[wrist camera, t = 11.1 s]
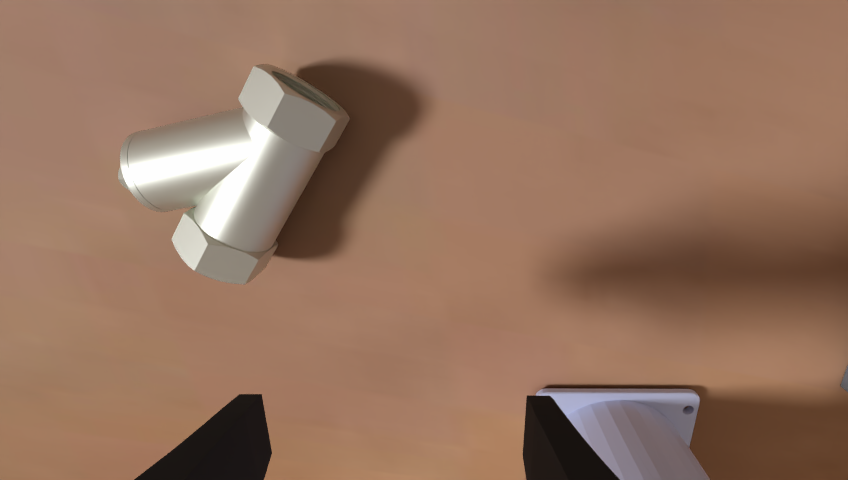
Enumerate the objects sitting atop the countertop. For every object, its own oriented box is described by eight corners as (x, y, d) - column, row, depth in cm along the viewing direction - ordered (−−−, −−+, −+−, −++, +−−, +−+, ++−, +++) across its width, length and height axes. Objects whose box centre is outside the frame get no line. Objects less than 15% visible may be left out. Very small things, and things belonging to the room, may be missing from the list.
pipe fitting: (145, 182, 20) (273, 262, 21) (74, 201, 17) (231, 297, 17) (215, 19, 18) (358, 114, 19) (150, -2, 14) (330, 118, 15)
